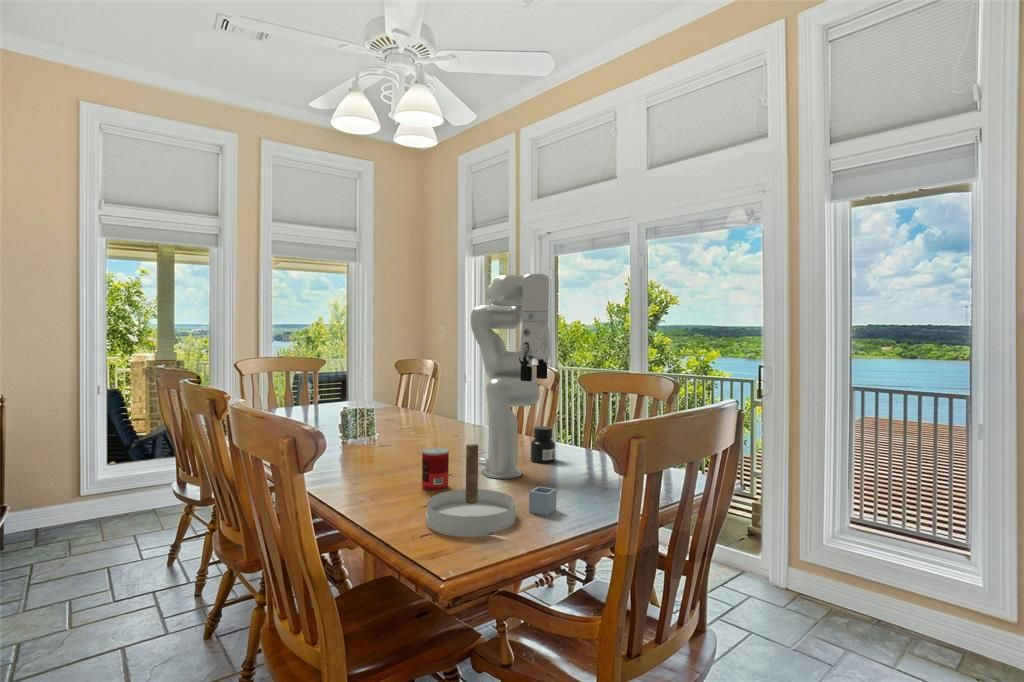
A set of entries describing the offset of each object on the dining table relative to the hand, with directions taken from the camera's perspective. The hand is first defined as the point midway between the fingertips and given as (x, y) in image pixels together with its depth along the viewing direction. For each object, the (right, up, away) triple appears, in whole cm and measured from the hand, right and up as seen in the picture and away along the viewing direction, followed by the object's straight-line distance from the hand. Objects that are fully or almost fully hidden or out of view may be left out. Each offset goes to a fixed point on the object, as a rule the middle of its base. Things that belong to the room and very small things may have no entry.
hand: (534, 379), depth 153 cm
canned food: (-29, -33, +11) cm, 45 cm away
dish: (-16, -34, -18) cm, 42 cm away
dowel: (-16, -29, -18) cm, 38 cm away
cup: (+2, -34, -12) cm, 36 cm away
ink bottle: (+5, -33, +46) cm, 56 cm away
